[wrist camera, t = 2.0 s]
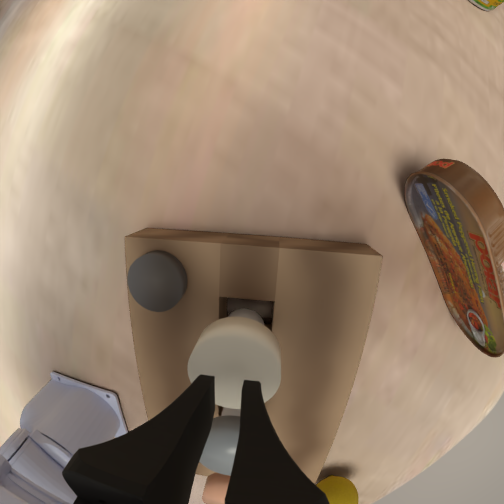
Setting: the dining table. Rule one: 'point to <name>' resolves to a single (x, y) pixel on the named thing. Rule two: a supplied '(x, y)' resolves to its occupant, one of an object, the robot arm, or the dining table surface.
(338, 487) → the lemon
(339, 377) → the board
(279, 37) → the dining table surface
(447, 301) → the tin
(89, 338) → the dining table surface
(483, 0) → the supplement bottle
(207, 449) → the knob slate
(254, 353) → the knob cream
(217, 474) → the peach pink ball
